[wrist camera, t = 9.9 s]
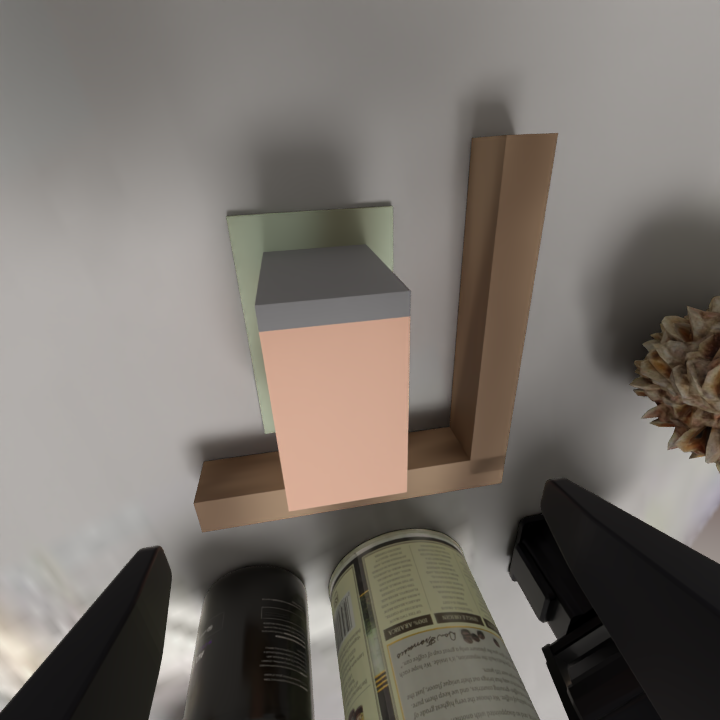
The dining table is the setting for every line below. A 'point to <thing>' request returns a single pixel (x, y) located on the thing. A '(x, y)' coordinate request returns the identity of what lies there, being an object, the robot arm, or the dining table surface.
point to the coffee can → (419, 635)
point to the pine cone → (685, 380)
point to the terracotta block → (336, 372)
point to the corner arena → (473, 341)
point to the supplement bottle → (252, 649)
